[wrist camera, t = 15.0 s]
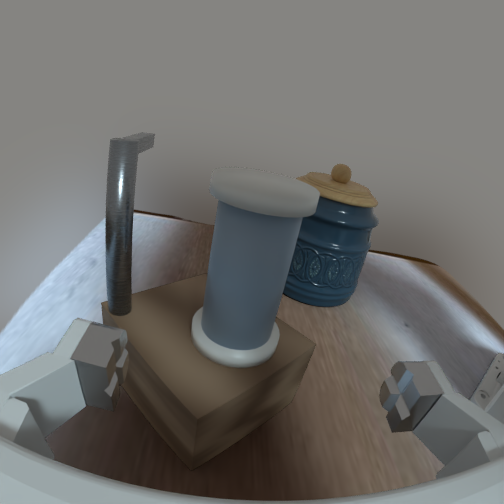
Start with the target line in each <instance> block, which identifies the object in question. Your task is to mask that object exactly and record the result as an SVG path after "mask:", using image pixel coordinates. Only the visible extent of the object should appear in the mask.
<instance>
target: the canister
mask: <svg viewBox="0 0 504 504" xmlns="http://www.w3.org/2000/svg"><path fill="white" fill-rule="evenodd" d="M350 178H351V170H350V168H349V167H348V166H346V165H344V164H337V165H335V166H334V167H333V169H332V172H331V175H329V174H324V173H316V172H310V173H308V174H307V175H305V176H301V177H298V178H296V179H297V180H300V181H302V182H305V183H307V184H309V185H311V186H313V187H314V188H316V189H317V190H318V191H319V192H320V196H319V200H318V204H317V208H316V212H315V213H314V214H313V215H311V216H307V217H303V218H302V222H301V226H300V230H299V234H298V238H297V242H296V246H295V249H294V253H293V257H292V261H291V265H290V268H289V272H288V276H287V279H286V283H285V287H284V290H283V293H284V294H285V295H287V296H289V297H291V298H293V299H295V300H297V301H300V302H303V303H306V304H310V305H315V306H322V307H332V306H338V305H342V304H344V303H346V302H347V301H348V300H349V299H350V297H351V295H352V294H353V293H354V291H355V288H356V286H357V283H358V277H359V275H360V272H361V269H362V266H363V264H364V261H365V258H366V255H367V252H368V250H369V249H370V247H371V241H370V236H371V231H372V229H373V228H374V227H376V226H377V225H378V223H379V221H378V218H377V217H376V215H375V214H374V213H373V207H376V206H377V205H378V202H377V200H376V199H375V198H374V197H373V196H372V194H371V193H370V190H369V189H368V188H366V187H364V186H362V185H360V184H358V183H356V182H353V181H350Z"/></svg>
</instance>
